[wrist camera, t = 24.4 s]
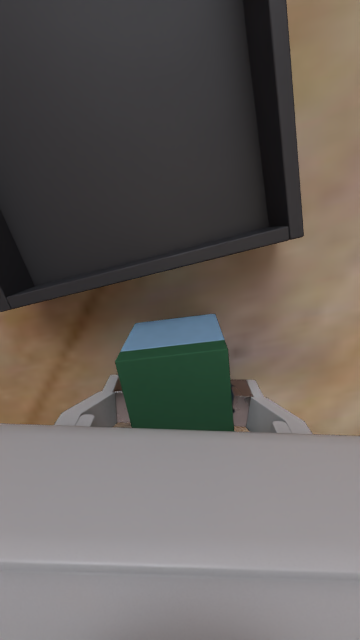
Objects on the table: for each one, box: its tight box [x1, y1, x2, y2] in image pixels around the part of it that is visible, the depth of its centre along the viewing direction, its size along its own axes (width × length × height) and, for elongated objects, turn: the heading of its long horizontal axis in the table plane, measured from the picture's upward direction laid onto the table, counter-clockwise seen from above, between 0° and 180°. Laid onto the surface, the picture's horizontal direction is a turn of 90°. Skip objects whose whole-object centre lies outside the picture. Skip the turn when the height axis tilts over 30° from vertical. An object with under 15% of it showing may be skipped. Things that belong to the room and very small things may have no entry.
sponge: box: [115, 314, 234, 431], centre depth 13 cm, size 5×7×4 cm, turn 8°
